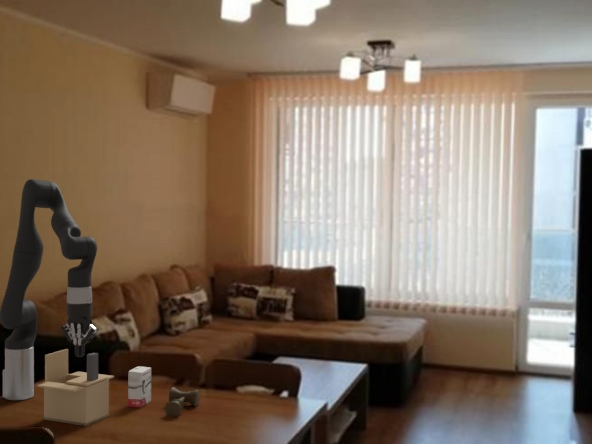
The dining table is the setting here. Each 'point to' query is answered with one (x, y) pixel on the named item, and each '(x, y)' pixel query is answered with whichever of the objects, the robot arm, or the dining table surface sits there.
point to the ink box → (139, 386)
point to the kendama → (180, 401)
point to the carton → (72, 394)
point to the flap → (89, 373)
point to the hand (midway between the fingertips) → (79, 356)
